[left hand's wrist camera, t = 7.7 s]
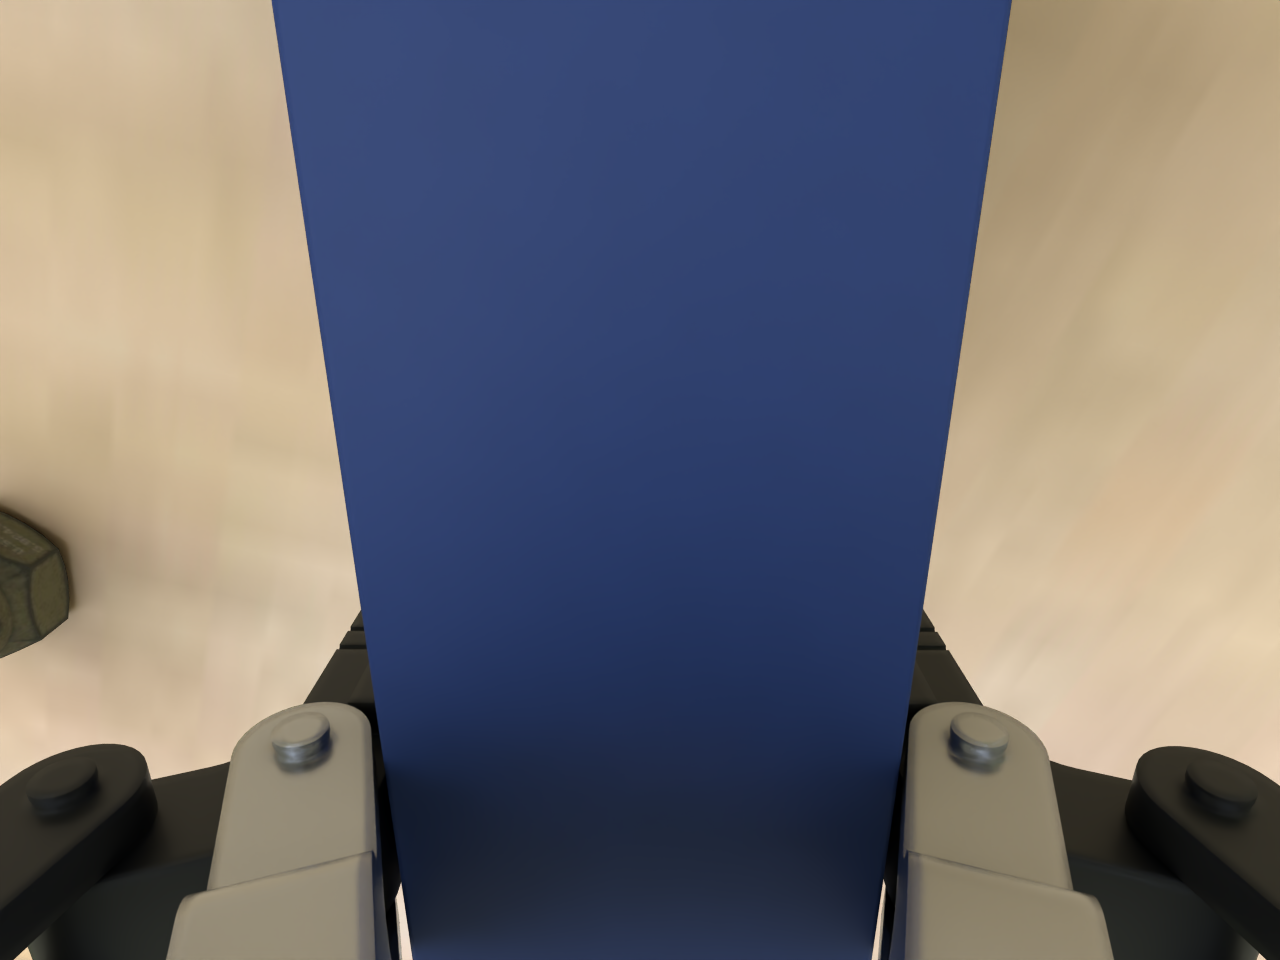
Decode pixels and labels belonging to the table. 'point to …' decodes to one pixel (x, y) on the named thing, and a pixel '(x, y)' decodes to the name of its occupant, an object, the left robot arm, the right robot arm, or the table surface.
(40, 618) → the grenade
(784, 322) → the bar
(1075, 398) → the table surface
